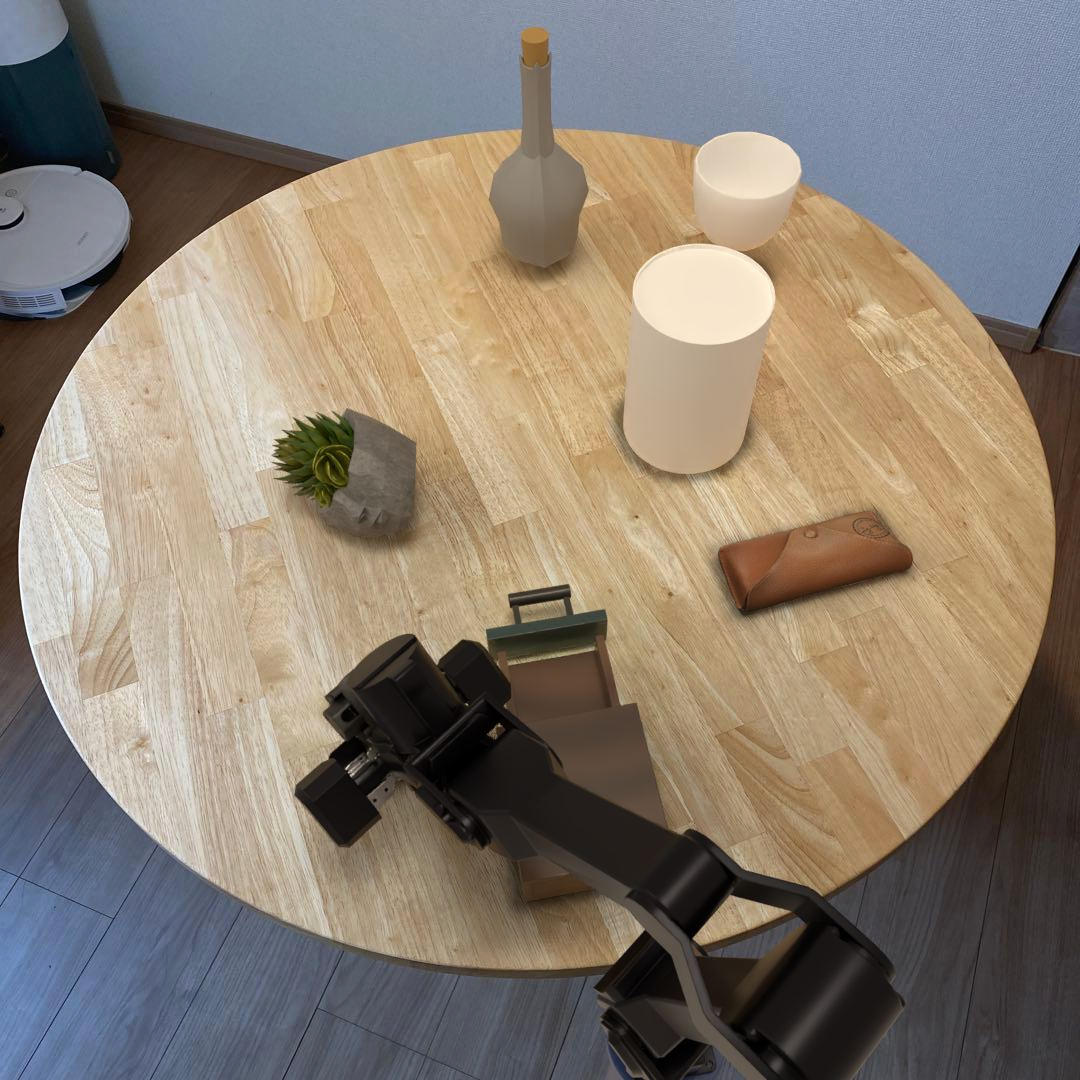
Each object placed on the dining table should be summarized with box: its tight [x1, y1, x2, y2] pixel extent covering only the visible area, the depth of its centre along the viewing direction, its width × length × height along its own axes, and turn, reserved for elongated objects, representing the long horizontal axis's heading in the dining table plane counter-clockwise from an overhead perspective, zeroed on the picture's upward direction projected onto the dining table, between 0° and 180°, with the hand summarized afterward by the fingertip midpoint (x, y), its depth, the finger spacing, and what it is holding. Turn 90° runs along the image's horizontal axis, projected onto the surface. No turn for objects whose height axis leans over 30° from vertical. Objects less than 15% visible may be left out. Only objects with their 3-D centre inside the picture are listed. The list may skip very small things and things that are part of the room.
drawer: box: [485, 583, 621, 723], centre depth 97 cm, size 17×11×4 cm
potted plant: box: [270, 407, 417, 538], centre depth 107 cm, size 12×13×15 cm
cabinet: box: [495, 702, 669, 903], centre depth 91 cm, size 14×13×6 cm
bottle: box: [488, 26, 590, 269], centre depth 119 cm, size 11×11×30 cm
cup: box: [692, 131, 803, 252], centre depth 122 cm, size 12×12×17 cm
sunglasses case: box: [717, 510, 914, 615], centre depth 105 cm, size 18×7×7 cm, turn 107°
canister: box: [622, 243, 776, 475], centre depth 108 cm, size 14×14×20 cm
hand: (372, 721), depth 91 cm, fingers closed on sprinkles bottle, 4 cm apart
